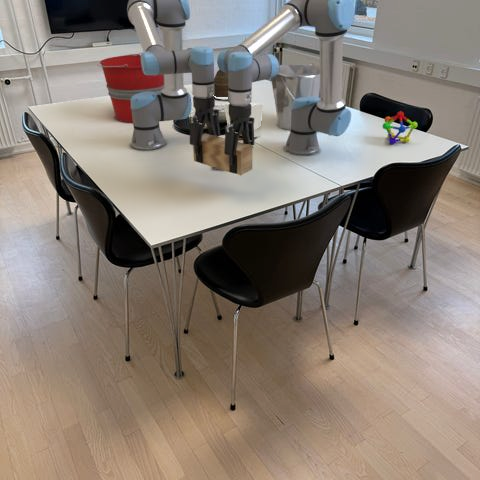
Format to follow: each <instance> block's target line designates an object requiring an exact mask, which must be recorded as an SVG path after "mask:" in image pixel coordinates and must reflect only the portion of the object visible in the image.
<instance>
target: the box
mask: <svg viewBox="0 0 480 480" xmlns="http://www.w3.org/2000/svg"><path fill="white" fill-rule="evenodd" d="M200 145H202V154H203V163H201V164H202V165H206V166H209V167H212V168H213V167H215V168H218V169H222V170H221V171H225V172H228V173H231V172H230V170H229V155H225V154H224V150H225V137H221V136H214V135H210V134H209V133H205V132H203V134H202V139H201V144H200ZM192 151H193V152H192V153H193V162H195V163H197V162H196V154H195V149H194V145H192ZM253 151H254V145H249V144H245V143H243V142H241V141H238V144H237V149H236V154H235V155H237V173H236V174H235V175H238V176H243V175H244V174H246V173H248V172H250V171H252V170H253Z"/></svg>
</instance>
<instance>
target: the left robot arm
mask: <svg viewBox="0 0 480 480" xmlns="http://www.w3.org/2000/svg"><path fill="white" fill-rule="evenodd" d="M190 9H191V8H190V3H189V0H128V2H127V6H126V14H127V17H128V20H129V22H130V23H131V24H132V25H133V26H134V29H135V32H136V35H137V38H138V41H139V43H140V46H141V48H142V52H141V53H142V54H141V53H140V55H141V65H142V70H143V73H144V74H145V75H154V76H156V75H164V87H163V88H162V89H161V95H157V94H156V92H154V91H146V92H141V93H138V94H135V95H134V96H132V98H131V109H132V118H133V123H132V125H133V132H132V135H131V142H130V143H131V147H132V148H134V149H135V150H141V151H151V150H153V151H154V150H157V149H161V148H163V147H164V146H165V144H166V140H165V137H164V135H163V132H162V130H161V127H160V122H170V121H171V122H172V121H182V120H185V119H188V121H189V145H190V146H193V145H194V149H195V154H196V162H195V163H199V164H202V163H203V154H202V145H200V144H201V139H202V134H204V128H205V127H206V128H207V131H208V134H210V135H214V136H218V137H221V127H220V118H219V117H220V116H219V115H220V109H217V108H216V99H215V97H214V96H213V95H214V78H215V57H214V50H213V48H212V47H210V46H193V47H188V48H186V49H183V29H184V28H185V27H186V21H188V20H190V18H191V16H190V15H191V10H190ZM155 21H156V22H155ZM157 27H158V28H157ZM158 29H160V33H159V30H158ZM160 34H161V35H160ZM184 74H191V87H192V89H191V91H192V95H191V94H190V92H188V89H187V88H186V87H185V86H184V85H185V84H184V83H185V82H184ZM192 96H193V97H192ZM192 105H193V106H192ZM192 107H193V108H194V110H195V112H194V115H193V116H190V115H191V113H192Z"/></svg>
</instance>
